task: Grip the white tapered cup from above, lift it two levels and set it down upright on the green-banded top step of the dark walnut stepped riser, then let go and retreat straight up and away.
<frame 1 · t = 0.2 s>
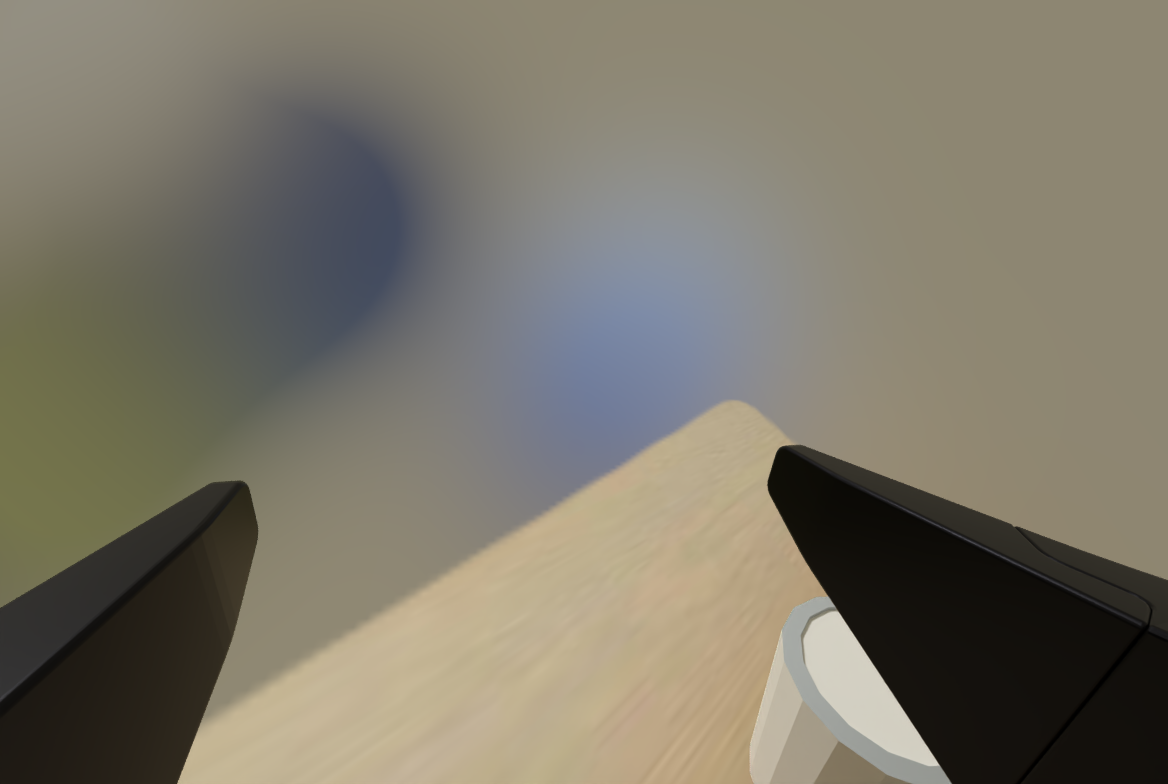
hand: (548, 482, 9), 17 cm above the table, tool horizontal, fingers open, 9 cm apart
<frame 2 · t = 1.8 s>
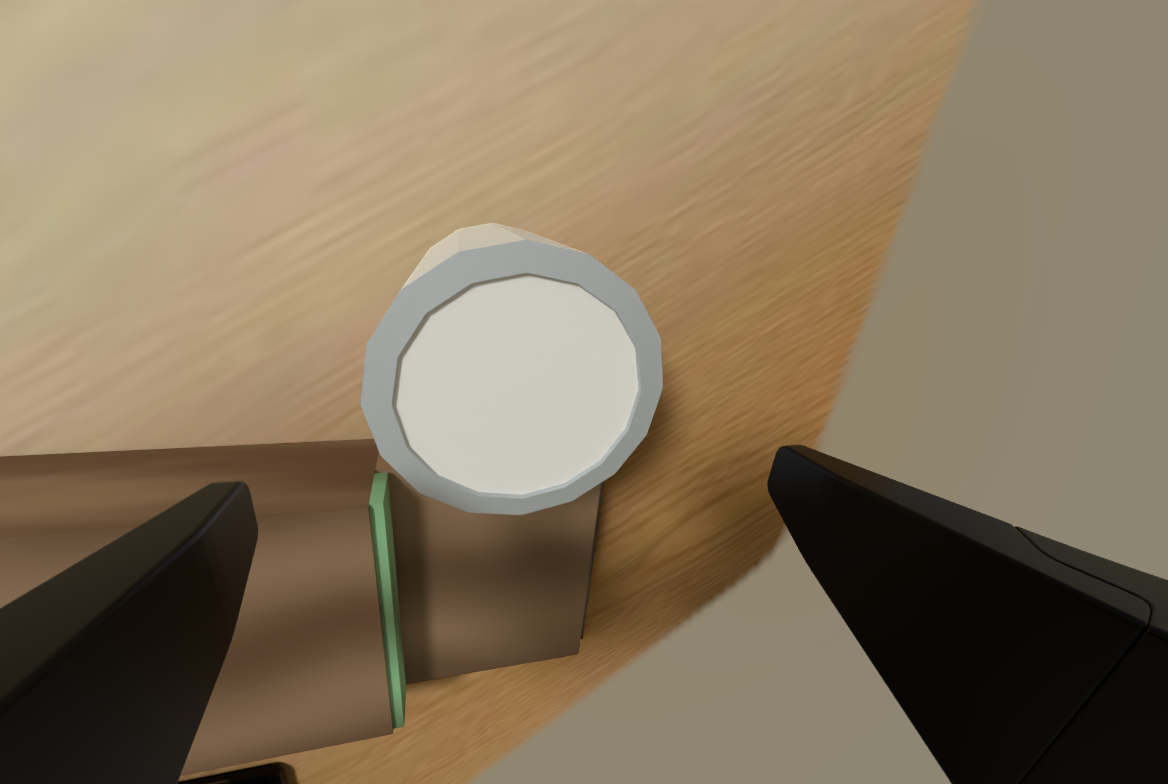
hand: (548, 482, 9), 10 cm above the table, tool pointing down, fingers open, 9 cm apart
white tapered cup: (493, 306, 17), on the table
stepped riser: (351, 557, 20), on the table
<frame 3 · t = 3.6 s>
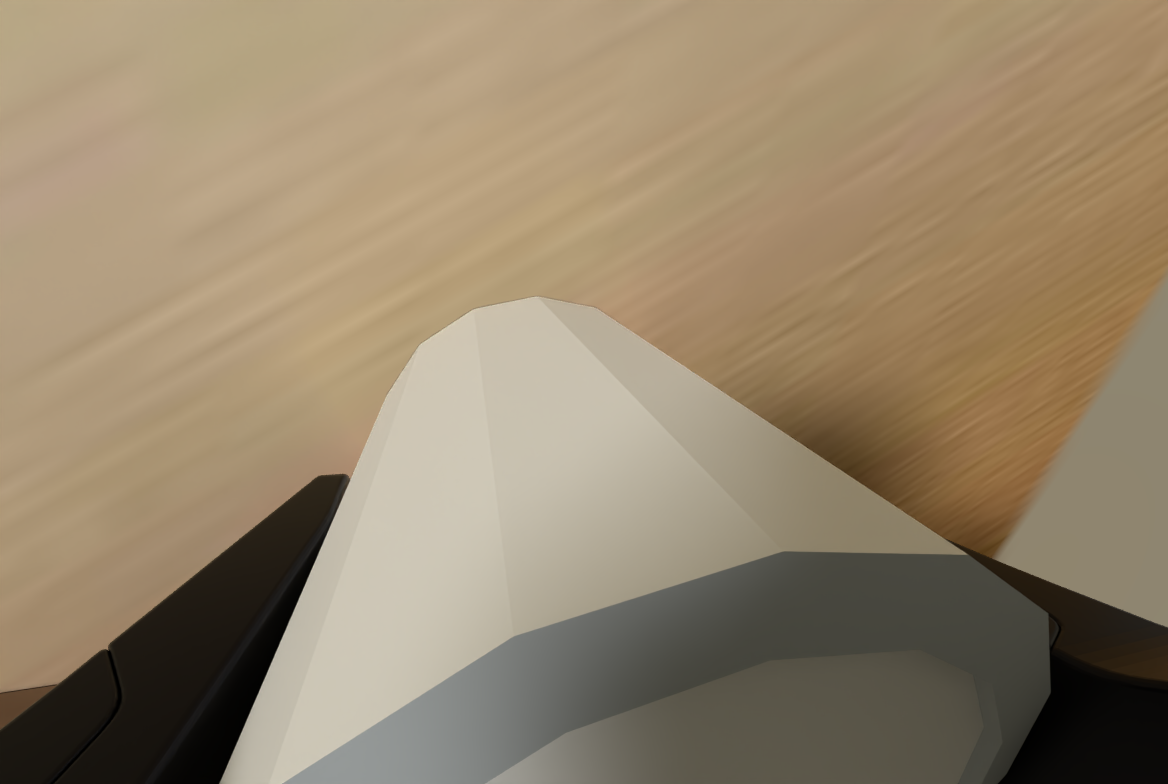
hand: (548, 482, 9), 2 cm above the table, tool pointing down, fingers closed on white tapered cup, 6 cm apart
white tapered cup: (531, 431, 10), on the table, touching gripper
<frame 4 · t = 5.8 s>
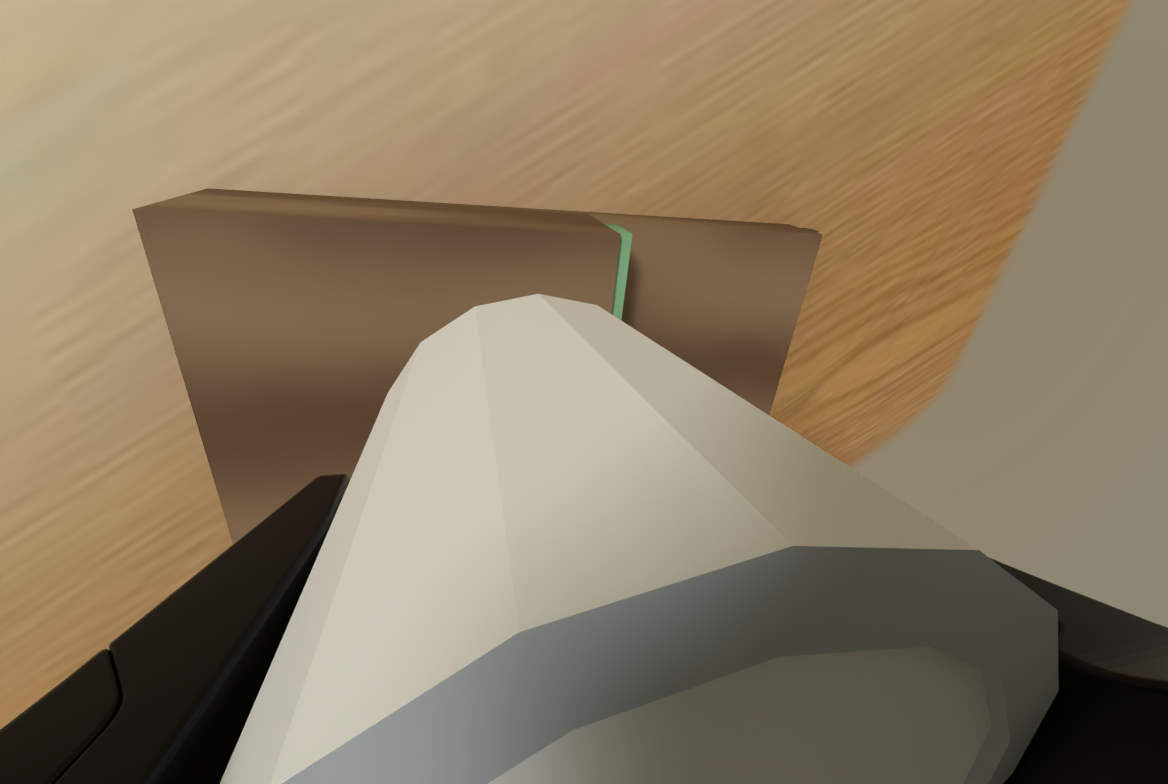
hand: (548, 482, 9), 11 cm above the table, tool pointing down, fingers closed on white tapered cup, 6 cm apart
white tapered cup: (533, 429, 10), point 9 cm above the table, touching gripper
stepped riser: (533, 361, 19), on the table
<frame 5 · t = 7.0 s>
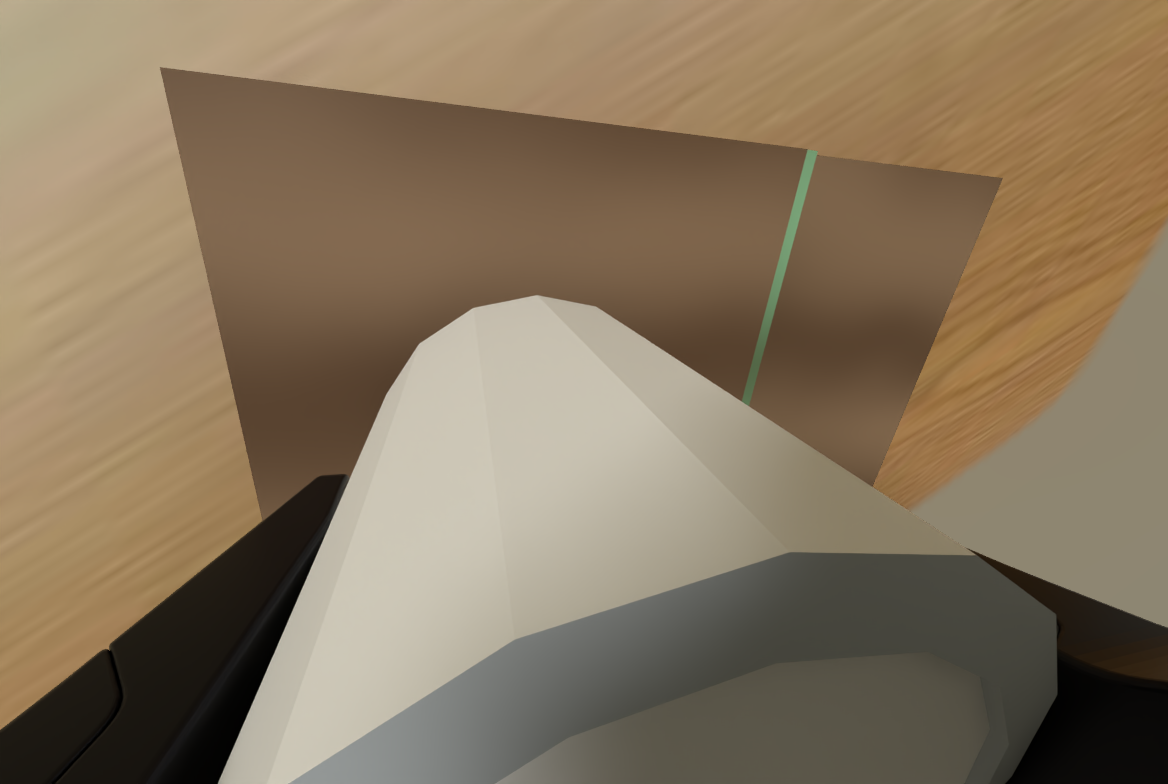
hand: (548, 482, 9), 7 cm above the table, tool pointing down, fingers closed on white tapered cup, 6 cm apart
white tapered cup: (531, 431, 10), point 5 cm above the table, touching gripper
stepped riser: (633, 337, 16), on the table
when the fingers open (6 cm above the table, at t = 8.0 s): white tapered cup stays where it is, resting on stepped riser.
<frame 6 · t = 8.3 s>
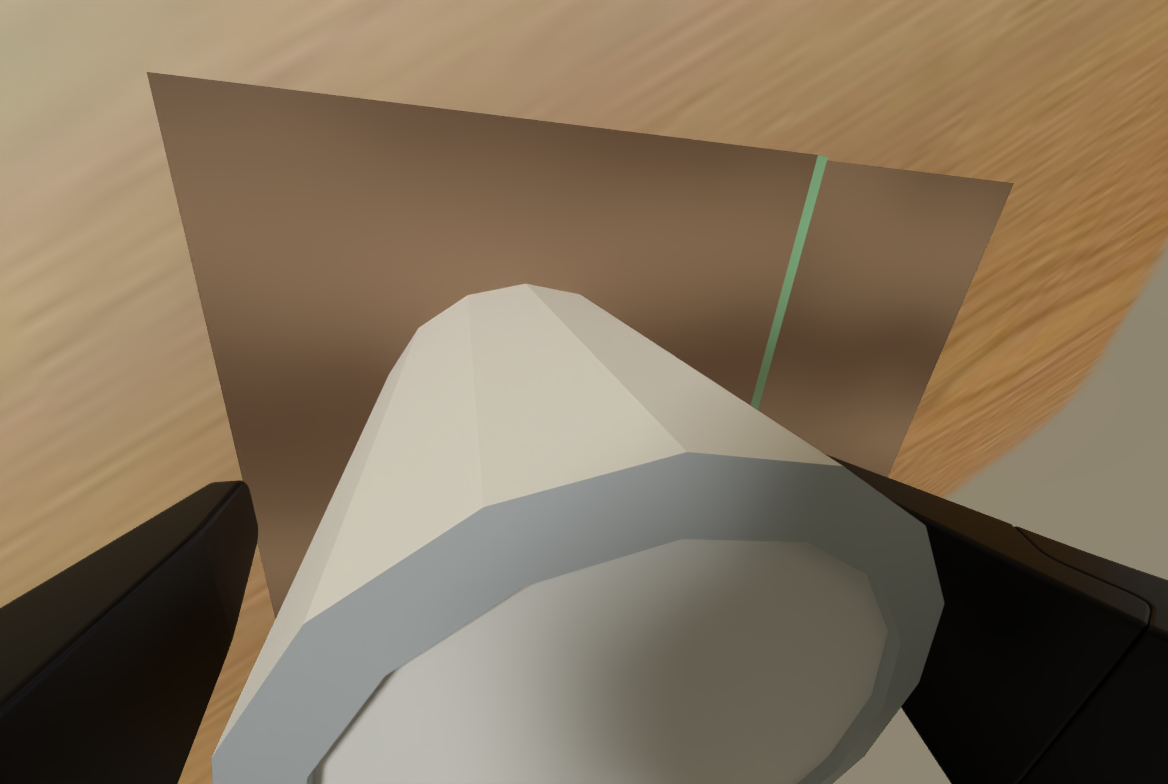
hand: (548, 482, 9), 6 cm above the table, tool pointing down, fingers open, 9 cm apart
white tapered cup: (522, 409, 11), point 4 cm above the table, touching stepped riser
stepped riser: (636, 345, 15), on the table
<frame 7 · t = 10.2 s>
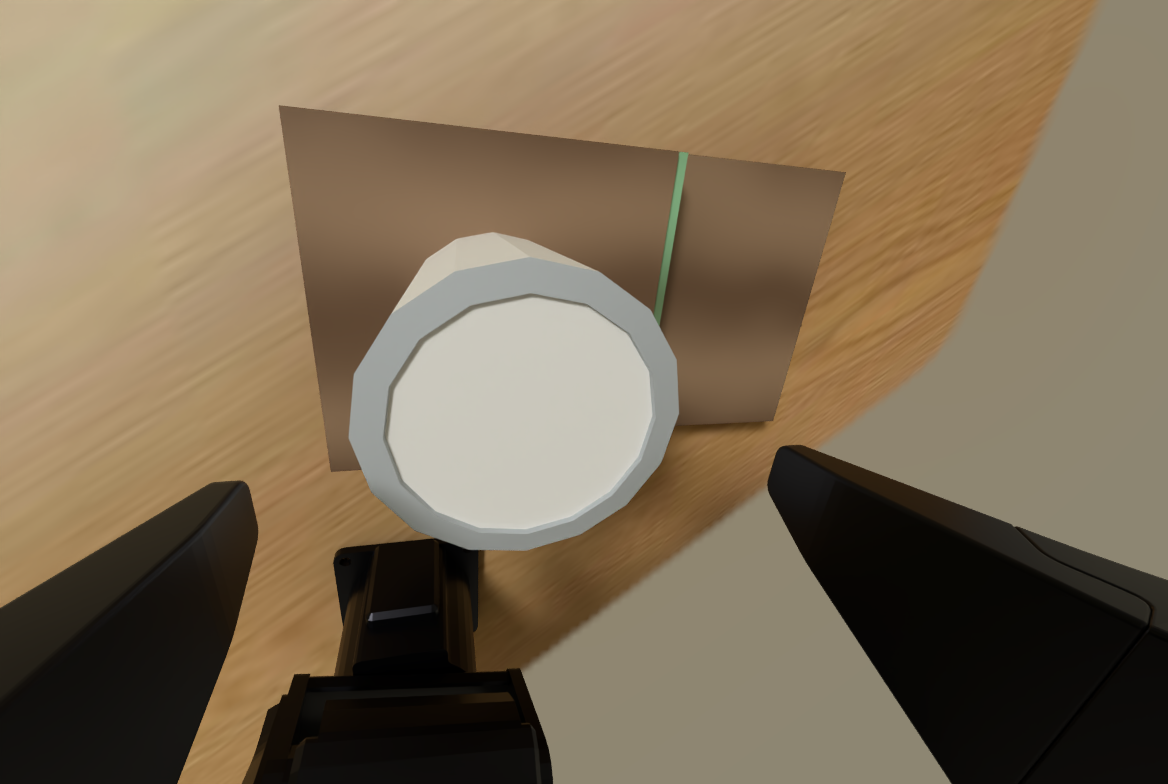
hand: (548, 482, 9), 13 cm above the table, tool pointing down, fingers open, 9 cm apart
white tapered cup: (494, 319, 17), point 4 cm above the table, touching stepped riser
stepped riser: (583, 291, 21), on the table
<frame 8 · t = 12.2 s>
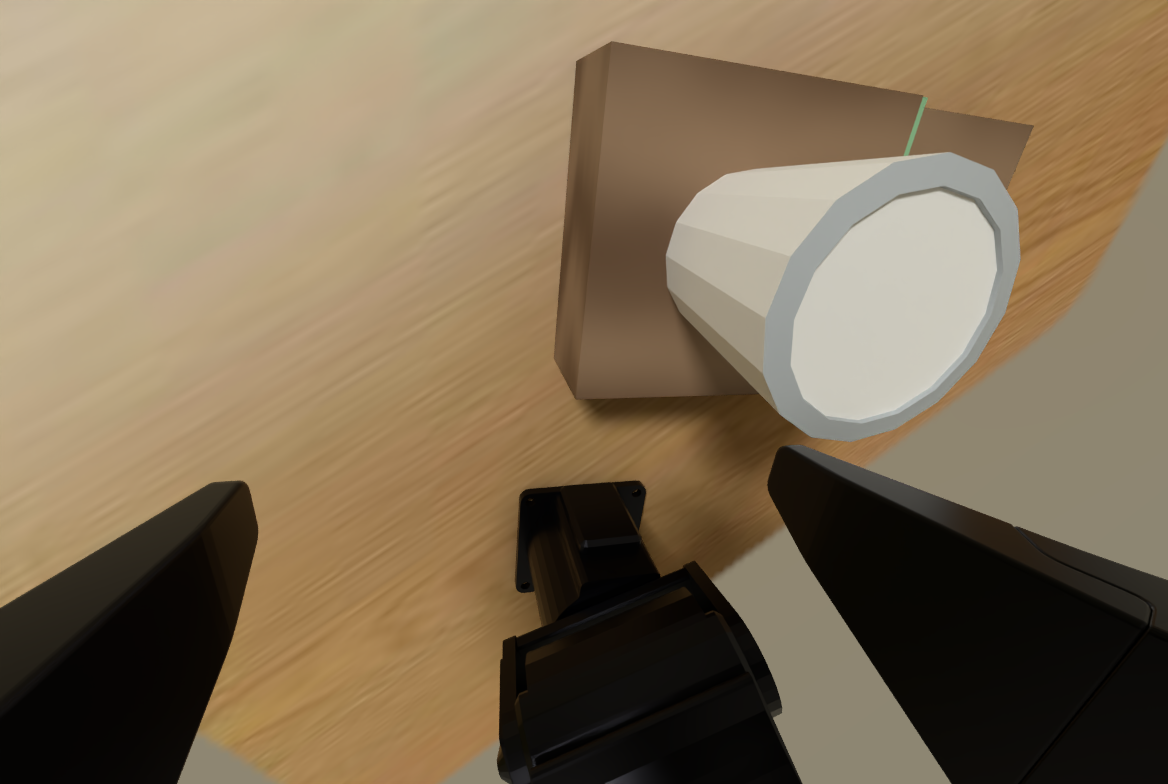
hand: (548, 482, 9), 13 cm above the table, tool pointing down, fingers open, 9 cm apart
white tapered cup: (736, 255, 18), point 4 cm above the table, touching stepped riser
stepped riser: (773, 241, 22), on the table
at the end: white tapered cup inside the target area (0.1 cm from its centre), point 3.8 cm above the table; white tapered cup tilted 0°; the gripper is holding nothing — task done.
